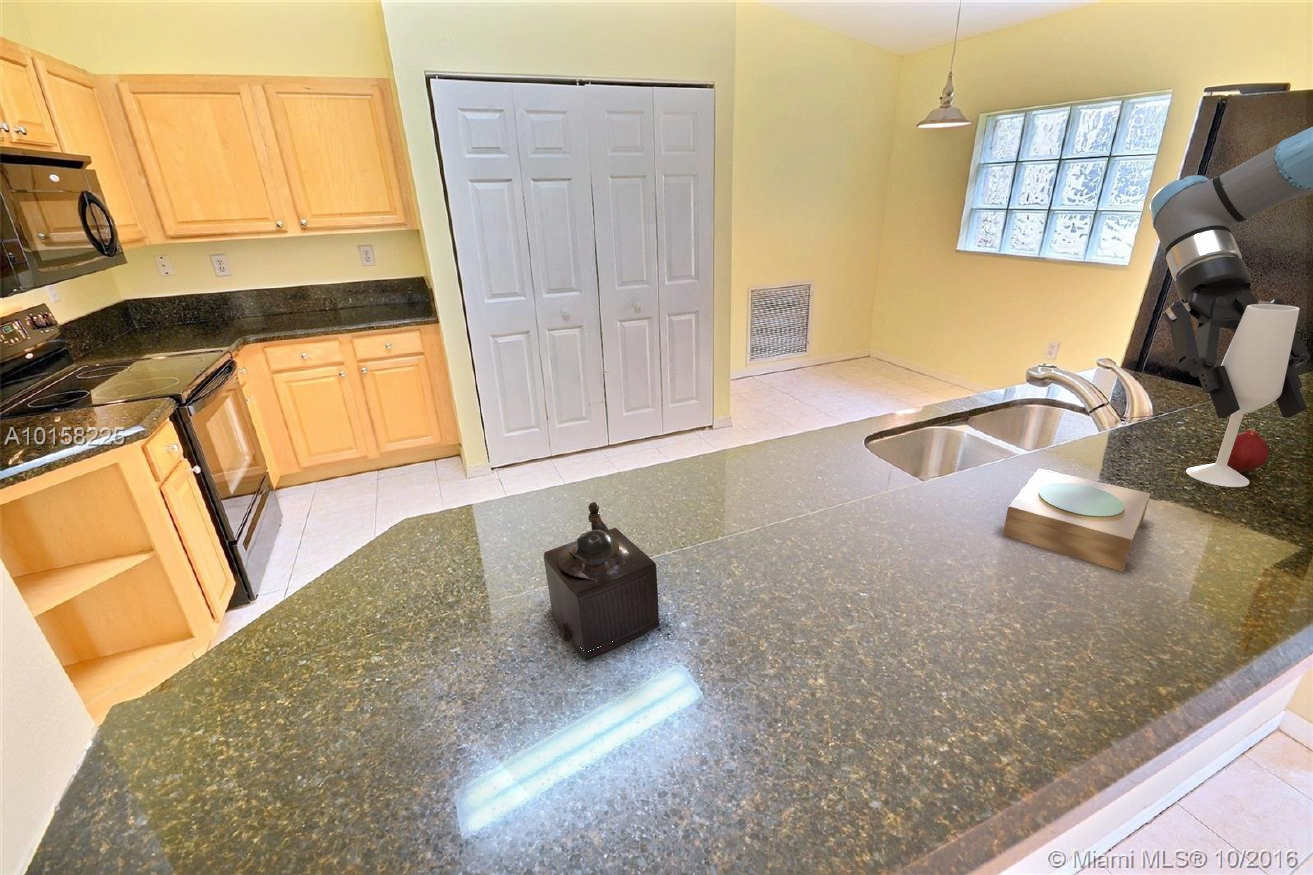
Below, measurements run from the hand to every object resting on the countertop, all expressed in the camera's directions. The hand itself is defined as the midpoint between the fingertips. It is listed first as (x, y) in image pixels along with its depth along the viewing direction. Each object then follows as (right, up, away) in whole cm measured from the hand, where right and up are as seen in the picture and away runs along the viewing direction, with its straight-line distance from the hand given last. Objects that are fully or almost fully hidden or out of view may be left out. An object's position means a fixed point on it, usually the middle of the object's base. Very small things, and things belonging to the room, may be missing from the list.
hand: (1261, 413), depth 75 cm
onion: (+19, -9, +22) cm, 31 cm away
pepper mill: (-84, -27, -6) cm, 89 cm away
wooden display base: (-18, -17, +9) cm, 26 cm away
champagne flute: (+1, -9, +7) cm, 12 cm away
